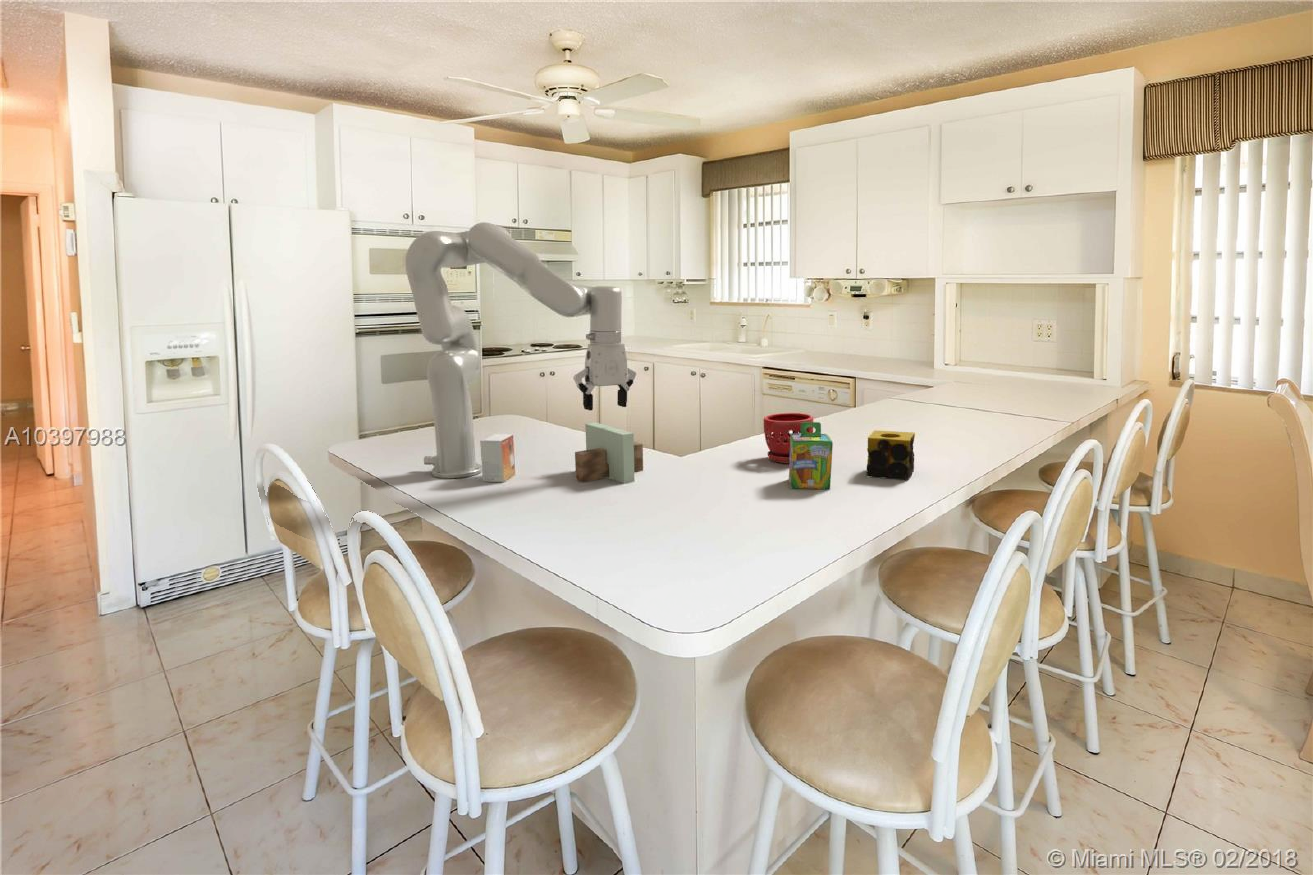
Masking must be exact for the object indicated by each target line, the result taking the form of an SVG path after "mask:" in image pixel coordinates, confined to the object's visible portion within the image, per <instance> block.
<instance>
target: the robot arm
mask: <svg viewBox="0 0 1313 875" xmlns="http://www.w3.org/2000/svg"><path fill="white" fill-rule="evenodd" d="M404 262H405V266H404V267H405V272H406V276H407V280H408V284H409V286H410V290H411V295H412V298H413V302H414V307H415V310H416V315H417V319H418V321H419V327H420V331H421V334H422V336H423V338H425V340H426V341H427V342H428V343H429V344H431V345H437V346H439V345H441V350H440V351H438V352H436V353H435V354H433V355H432V356H431V358H430V359H429V360H428V363H427V367H426V376H427V381H428V386H429V389H430V393H431V401H432V411H433V412H432V414H433V424H434V434H435V435H434V436H435V437H434V438H435V449H436V455H435V456H431V455H425V456H424V457H423V464H424V465H431V466H433V468H432V469H431V475H432V476H433V477H437V478H440V479H457V478H458V479H459V478H465V477H466V478H467V477H472V476H476V475H478V474H480V473H482V464H480V463H478V462H477V461H476V460H477V459H476V448H475V447H476V446H475V444H476V443H475V431H474V430H475V429H474V418H473V407H472V405H473V403H472V397H471V393H470V390H469V384H468V383H470V382H472V381H474V380H475V379H476V378H477V377H478V376H479V374H480V372H481V368H482V362H481V355H480V350H479V348H478V344H477V340H476V339H477V338H476V335H475V331H474V327H473V323H472V320H471V319H470V317H469V315H468V313H467V312H466V311H465V310H464V309H462V308H461V307H460V306H456V305H452V301H451V298H450V294H449V290H448V286H447V283H446V281H445V279H444V277H443V275H442V269H443V268H445V269H446V268H447V269H448V268H451V269H454V268H464V267H467V266H473V265H478V264H484V263H485V264H487V265H489V266H490V267H492V268H494V269H495V270H497V271H498V272H499V273H501V274H503V275H504V276H505V277H507V278H508V279H509V280H512V281H513V282H514V283H516V285H518V286H519V287H520V288H521V289H523V290H524V291H525V292H526V293H527V294H529V295H530V296H531V297H532V298H534V299H535V300H536V301H538V302H539V303H541V304H542V305H543V306H546V307H547V308H548V309H550V310H551V311H553V312H555V313H556V314H558V315H560V316H562V317H564V318H574V317H581V316H589V315H590V317H589V318H590V319H589V321H590V322H589V329H590V330H589V333H586V334H585V339H586V340H589V343H588V344H587V348H586V353H585V360H584V368H583V369H582V370H581V371H578V373H576V374H574V376H572V377H573V378H572V379H573V382H575V384H576V388H578V389H579V391H580V392H581V393H582V405H583V408H584V410H587V411H593V410H594V395H593V393H592V391H593V390H594V389H595V387H609V386H617V387H618V389H617V401H616V402H617V406H619V407H622V408H626V407H627V403H628V392H629V390H630V388H631V386H633V384H634V380H635V379H636V376H637V372H636V371H634V370H632V369H630V368H629V367H628V358H627V351H626V346H625V343H622V298H623V297H622V291H621V288H620V287H617V286H610V285H609V286H607V285H600V286H598V285H597V286H590V285H589V286H588V285H583V284H582V285H581V284H572V283H570V282H568V281H567V280H566V279H564V278H562V277H560V276H559V275H557V274H556V273H554V272H553V271H551V269H549V268H548V267H547V266H546V265H545V264H544V263H543V262H542V261H541V259H540V257H539V255H538V254H537V253H536V252H535V251H533V250H532V249H530V248H528V247H527V246H525V245H524V244H522V243H521V242H519V241H518V240H516V239H515V238H513V237H512V236H511V235H510V233H509V231H508V229H506V228H504V227H503V226H501V225H498V224H495V223H490V222H478V223H476V224H474V225H473V226H472V227H471V228H469V230H466V231H460V232H456V233H455V232H454V233H452V232H446V231H440V230H431V231H426V232H423V233H422V234H420V235H419V236H417V237H416V238H415V239H414V240H413V241H412V242H411V244H410V245H409V247H408V249H407V251H406V254H405V261H404ZM583 378H584V382H585V383H584V382H583V380H582V379H583Z"/></svg>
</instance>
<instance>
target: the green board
mask: <svg viewBox="0 0 1313 875" xmlns="http://www.w3.org/2000/svg"><path fill="white" fill-rule="evenodd" d="M584 425H585V447H586V448H585V450H590V449H597V448H600V449H603V450H605V451H606V463H607V464H609V477H608V478H609V479H612V480H614V481H616V482H619V483H621V484H629V483H634V482H635V480H636V479H635V472H634V442H635V440H634V439H635V438H634V432H630V431H626V430H624V429H620V428H617V427H614V426H609V425H606V424H603V423H600V422H596V421H595V422H589V423H585V424H584Z"/></svg>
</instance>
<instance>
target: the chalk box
mask: <svg viewBox="0 0 1313 875" xmlns="http://www.w3.org/2000/svg"><path fill="white" fill-rule="evenodd" d="M808 427H813V429H815V430H814V431H813V433H808V432H807V431H806V429H807V428H808ZM833 445H834V444H833V440H832V439H831V437H830V436H829V435H828V434H827V433H822V424H821V422H819V421H813V422H802V423H801V433H799V432H798V433H793V432H792V433H790V463H788V464H789V467H788V468H789V469H788V470H789V471H788V481H789V485H790V488H791V489H804V490H805V489H806V490H807V489H808V490H810V489H811V490H831V479H832V461H833V460H832V459H833Z"/></svg>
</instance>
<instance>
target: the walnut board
mask: <svg viewBox="0 0 1313 875" xmlns="http://www.w3.org/2000/svg"><path fill="white" fill-rule="evenodd" d="M643 444H644V443H641V442H638V441H636V442H635V441H634V473H637V472H643V471H644V448H643V447H644V445H643ZM574 462H575V480H576V481H577V482H580V483H586V482H590V481H596V480H602V479H606V478H609V464H607V463H606V451H605V450H603V449H600V448H597V449H590V450H586V449H584V450H579V451H575V452H574Z"/></svg>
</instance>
